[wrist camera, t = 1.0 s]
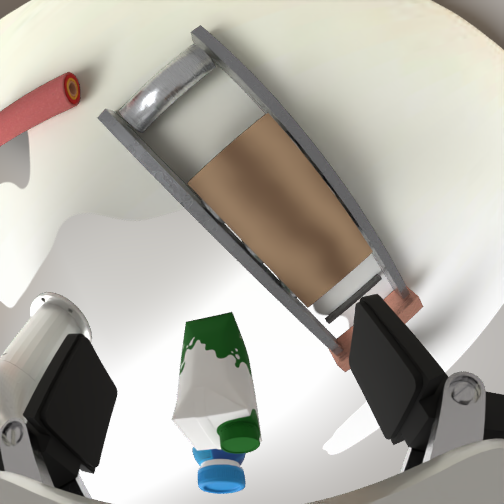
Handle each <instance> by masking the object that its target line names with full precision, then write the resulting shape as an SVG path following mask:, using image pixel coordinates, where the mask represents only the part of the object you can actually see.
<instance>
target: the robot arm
mask: <svg viewBox="0 0 504 504" xmlns="http://www.w3.org/2000/svg"><path fill="white" fill-rule="evenodd" d="M30 313H31V314H30V315H31V318H30V319H29V320H28V322H27V323H26V324H25V325H24V326H23V328H22V329H21V330H20V332H19V333H18V334H17V335H16V337H15V338H14V339H13V340H12V342H11V343H10V344H9V346H8V347H7V348H6V350H5V351H4V353H3V354H2V356H1V357H0V504H110V503H106V502H102V501H98V500H94V499H92V498H91V496H90V494H89V493H88V491H87V489H86V487H85V485H84V483H83V481H82V480H81V477H80V476H79V473H78V472H79V469H81V470H82V471H85V472H89V473H93V474H94V471H95V467H97V466H98V465H99V462H100V457H101V453H102V449H103V444H104V441H105V437H106V433H107V429H108V426H109V422H110V418H111V414H112V411H113V407H114V404H115V401H116V397H117V388H116V386H115V385H114V383H113V381H112V380H111V378H110V376H109V375H108V373H107V371H106V370H105V368H104V366H103V365H102V363H101V361H100V359H99V357H98V356H97V354H96V352H95V350H94V348H93V346H92V344H91V339H92V336H91V329H90V326H89V324H88V321H87V320H86V318H85V316H84V315H83V313H82V312H81V311H80V310H79V308H78V307H77V306H76V305H74V303H72V302H71V301H70V300H68V299H67V298H65V297H63V296H61V295H59V294H56V293H51V292H45V293H42V294H40V295H39V296H37V297H36V298H35V299H34V300H33V302H32V305H31V308H30ZM349 366H350V369H351V371H352V373H353V374H354V376H355V378H356V380H357V382H358V384H359V386H360V388H361V390H362V392H363V394H364V396H365V398H366V400H367V402H368V404H369V406H370V408H371V410H372V412H373V414H374V416H375V418H376V420H377V422H378V424H379V426H380V428H381V430H382V432H383V434H384V436H385V438H386V439H391V441H392V443H393V445H395V444H397V443H399V442H402V441H404V440H405V441H406V443H407V445H408V447H409V448H408V452H407V455H406V458H405V460H404V463H403V466H402V469H401V471H400V474H397V475H395V476H393V477H390V478H388V479H385V480H383V481H380V482H378V483H375V484H372V485H369V486H366V487H363V488H360V489H358V490H355V491H351V492H349V493H345V494H342V495H338V496H335V497H331V498H328V499H324V500H320V501H315V502H311V503H307V504H504V395H502V394H496V393H491V392H485V386H484V384H483V382H482V381H481V380H480V378H478V376H476V375H474V374H472V373H469V372H457V373H454V374H452V375H451V376H450V377H448V376H447V375H446V373H445V372H444V371H443V369H442V368H441V367H440V366H439V364H438V363H437V362H436V361H435V359H434V358H433V357H432V356H431V354H430V353H429V352H428V351H427V350H426V348H425V347H424V346H423V345H422V344H421V342H420V341H419V340H418V339H417V338H416V337H415V335H414V334H413V333H412V332H411V331H410V329H409V328H408V327H407V326H406V325H405V324H404V323H403V321H402V320H401V319H400V318H399V317H398V316H397V315H396V313H395V312H394V311H393V310H392V309H391V308H390V307H389V306H388V305H387V303H386V302H385V301H384V300H383V299H382V298H381V297H380V296H379V295H378V294H374V295H370V296H365V297H362V298H361V299H360V302H358V303H357V304H356V307H355V316H354V325H353V333H352V340H351V347H350V354H349Z"/></svg>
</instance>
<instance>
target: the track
mask: <svg viewBox="0 0 504 504" xmlns="http://www.w3.org/2000/svg"><path fill="white" fill-rule="evenodd" d="M191 35H192V40H193V42H194V43H195V44H196V45H197V46H198V47H200V48H201V49H202V50H203V51H204V52H205V53H206V54H207V55H208V56H209V57H210V58H211V59H213V60H214V61H215V62H216V63H217V64H218V65H219V66H220V67H221V68H222V69H223V70H224V71H225V72H226V73H227V74H228V75H229V76H230V77H231V78H232V79H233V80H234V81H235V82H236V83H237V84H238V85H239V86H240V87H241V88H242V89H243V90H244V91H245V92H246V93H247V94H248V95H249V96H250V97H251V99H252V100H253V101H254V102H255V103H256V104H257V105H258V106H259V107H260V108H261V109H262V110H263V112H264V113H265V114H267V113H269V114H270V115H271V116H272V118H273V119H274V120H275V121H276V122H277V123H278V124H279V126H280V127H281V128H282V129H283V130H284V131H285V133H286V134H287V135H288V136H289V137H290V138H291V139H292V140H293V141H294V142H295V143H296V144H297V146H298V147H299V149H300V150H301V152H302V153H303V154H304V156H305V157H306V158H307V159H308V161H309V162H310V163H311V164H312V166H313V167H314V168H315V169H316V171H317V172H318V173H319V175H320V176H321V177H322V179H323V180H324V181H325V182H326V184H327V185H328V186H329V187H330V188H331V189H332V191H333V192H334V194H335V196H336V198H337V199H338V200H339V202H340V203H341V205H342V206H343V207H344V209H345V210H346V212H347V213H348V215H349V216H350V217H351V219H352V220H353V222H354V223H355V225H356V226H357V227H358V228H359V230H360V231H361V233H362V234H363V236H364V238H365V240H366V241H367V243H368V245H369V246H370V248H371V249H372V251H373V252H372V255H373V256H374V258H375V260H376V261H377V263H378V264H379V266H380V268H381V269H382V271H383V273H384V274H385V276H386V277H387V279H388V281H389V283H390V284H391V286H392V288H393V289H394V291H393V292H391V293H390V294H389V295H388V296H387V297H386V298H385V299H384V301H385V302H386V303H387V305H388V306H389V307H390V308H391V309H392V310H393V311H394V312H395V313H396V315H397V316H398V317H399V318H400V319H401V320H402V321H403V323H404V324H405V323H406V322H408V321H409V320H410V319H411V318H412V317H413V316H414V315H415V314H416V313H417V312H418V311H419V310H420V309H421V308H422V307H423V305H422V303H421V301H420V299H419V296H417V295H416V294H415V293H414V292H413V291H412V290H410V289H409V288H408V287H407V286H406V285H405V283H404V281H403V279H402V278H401V276H400V274H399V272H398V270H397V268H396V267H395V265H394V263H393V261H392V259H391V258H390V256H389V254H388V252H387V251H386V249H385V247H384V246H383V244H382V242H381V240H380V239H379V237H378V236H377V234H376V232H375V231H374V229H373V227H372V226H371V224H370V223H369V221H368V219H367V218H366V216H365V215H364V213H363V212H362V210H361V209H360V207H359V206H358V204H357V203H356V201H355V200H354V198H353V197H352V195H351V194H350V192H349V191H348V189H347V188H346V186H345V185H344V184H343V182H342V181H341V179H340V178H339V177H338V175H337V174H336V172H335V171H334V170H333V168H332V167H331V166H330V164H329V163H328V162H327V160H326V159H325V158H324V156H323V155H322V154H321V152H320V151H319V150H318V148H317V147H316V146H315V145H314V143H313V142H312V141H311V140H310V138H309V137H308V136H307V135H306V133H305V132H304V131H303V130H302V128H301V127H300V126H299V125H298V124H297V122H296V121H295V120H294V119H293V118H292V116H291V115H290V114H289V113H288V112H287V111H286V109H285V108H284V107H283V106H282V105H281V104H280V103H279V102H278V100H277V99H276V98H275V97H274V96H273V95H272V94H271V93H270V92H269V91H268V89H267V88H266V87H265V86H264V85H263V84H262V83H261V82H260V81H259V80H258V79H257V78H256V77H255V76H254V75H253V74H252V73H251V72H250V71H249V70H248V69H247V68H246V67H245V66H244V65H243V64H242V63H241V62H240V61H239V60H238V59H237V58H236V57H235V56H234V55H233V54H232V53H231V52H230V51H229V50H228V49H227V48H226V47H225V46H223V45H222V44H221V43H220V42H219V41H218V40H217V39H216V38H215V37H213V36H212V35H211V34H210V33H209V32H208V31H207V30H205V29H204V28H203V27H202V26H201V25H200V26H199V27H197V28H196V29H194V30H193V31H192V32H191ZM201 79H202V78H201ZM159 116H160V115H159ZM98 119H99V120H100V121H101V122H102V123H103V124H104V125H105V126H106V127H107V128H108V130H109V131H110V132H111V133H112V134H113V135H114V136H115V137H116V138H117V139H118V140H119V141H120V142H121V143H122V144H123V145H124V146H125V147H126V148H127V149H128V150H129V151H130V152H131V154H132V155H133V156H134V157H135V158H136V159H137V160H138V161H139V162H140V163H141V164H142V165H143V166H144V167H145V168H146V169H147V170H148V171H149V172H150V173H151V174H152V175H153V176H154V177H155V178H156V179H157V180H158V181H159V182H160V183H161V184H162V185H163V186H164V187H165V188H166V189H167V190H168V191H169V192H170V193H171V195H172V196H173V197H174V198H175V199H176V200H177V201H178V202H179V203H180V204H181V205H182V206H183V207H184V208H185V209H186V210H187V211H188V212H189V213H190V214H191V215H192V216H193V217H194V218H195V219H196V220H197V221H199V223H200V224H202V226H203V227H204V228H205V229H206V230H208V232H209V233H210V234H211V235H212V236H213V237H214V238H215V239H216V240H217V241H218V242H219V243H221V245H222V246H223V247H224V248H225V249H226V250H227V251H228V252H229V253H230V254H232V256H234V257H235V258H236V259H237V260H238V261H239V262H240V263H241V264H242V265H243V266H244V267H245V268H246V269H247V270H248V271H249V272H250V273H251V274H252V275H253V276H254V277H255V278H256V279H257V280H258V281H259V282H260V283H261V284H262V285H263V286H264V287H265V288H266V289H267V290H268V291H269V292H270V293H271V294H272V295H273V296H274V297H275V298H277V299H278V300H279V301H280V302H281V303H282V304H283V305H284V306H285V307H286V308H287V309H288V310H289V311H290V312H291V313H292V314H293V315H294V316H295V317H296V318H297V319H298V320H299V321H300V322H301V323H302V324H304V325H305V326H306V327H307V328H308V329H309V330H310V331H311V332H312V333H313V334H314V335H315V336H316V337H317V338H318V339H319V340H321V342H322V343H323V344H325V345H326V346H327V347H328V348H329V350H330V352H331V354H332V356H333V358H334V360H335V362H336V364H337V365H338V366H339V367H340V368H341V369H342V370H343V371H345V372H346V371H347V370H349V369H350V366H349V354H350V347H351V340H352V333H353V326H352V327H351V328H350V329H348V330H347V331H346V332H345V333H343V334H342V335H341V336H340V337H339V338H337V339H336V338H335V337H334V336H333V335H332V334H331V333H330V332H329V331H328V330H327V329H326V328H325V327H324V326H323V325H322V324H321V323H320V322H319V321H318V320H317V319H316V318H315V317H314V316H313V315H312V314H311V312H310V311H309V310H308V309H307V308H306V307H305V306H303V304H302V303H301V302H300V301H299V300H298V299H297V298H294V297H293V296H292V295H291V294H290V293H289V292H288V291H287V290H286V288H285V287H284V286H283V285H282V283H281V282H280V281H279V280H278V279H277V278H276V277H275V276H274V275H273V274H272V273H271V271H270V270H269V269H268V268H267V267H266V266H265V265H264V264H262V263H260V262H259V261H258V260H257V259H256V258H255V257H254V256H253V255H252V254H251V253H250V252H249V251H248V249H247V248H246V247H245V245H244V244H243V243H242V242H241V241H240V240H239V239H238V238H237V237H236V236H235V235H234V234H233V233H232V232H231V231H230V229H229V228H227V226H226V225H225V224H224V223H222V222H220V221H219V220H218V219H217V218H216V217H215V216H214V215H213V214H212V213H211V212H210V211H209V210H208V209H207V208H206V206H205V205H204V204H203V202H202V201H201V200H200V199H199V198H198V197H197V196H196V195H195V194H194V192H193V191H192V190H191V189H190V188H189V187H188V186H187V185H186V184H185V183H184V182H183V181H182V180H181V179H180V178H179V177H178V176H177V175H176V174H175V173H174V172H173V171H172V170H171V169H170V168H169V167H168V166H167V165H166V164H165V163H164V162H163V161H162V160H161V159H160V158H159V157H158V156H157V154H156V153H155V152H154V151H153V150H152V149H151V148H150V147H149V146H148V145H147V144H146V143H145V142H144V141H143V140H142V139H141V138H140V137H139V136H138V135H137V134H136V133H135V132H134V131H133V130H132V129H131V128H130V127H129V126H128V125H127V124H126V123H125V122H124V121H123V120H122V119H121V118H120V117H119V115H118V114H117V113H116V112H114V111H111V110H108V109H105V110H104V111H103V112H102V113H101V114H100V116H99V117H98ZM381 279H382V278H381V277H380V276H379V275H378V274H377V275H375V276H374V277H373V278H372V279H371V280H370V281H369V282H368V283H367V284H365V285H364V286H363V287H362V288H361V289H360V290H359V291H357V292H356V293H355V294H354V295H353V296H352V297H350V298H349V299H348V300H347V301H346V302H344V303H343V304H342V305H341V306H340V307H338V308H337V309H336V310H335V311H334V312H332V313H331V314H330V315H329V316H327V317H326V318H325V319H326V321H327V322H328V323H329V324H330V323H331V322H332V321H333V320H335V319H336V318H337V317H338V316H339V315H341V314H342V313H343V312H344V311H346V310H347V309H348V308H349V307H350V306H352V305H353V304H354V303H355V302H356V301H357V300H359V299H360V298H361V297H362V296H363V295H364V294H366V293H367V292H368V291H369V290H370V289H371V288H372V287H373V286H375V285H376V284H377V283H378V282H379V281H380V280H381Z"/></svg>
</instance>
